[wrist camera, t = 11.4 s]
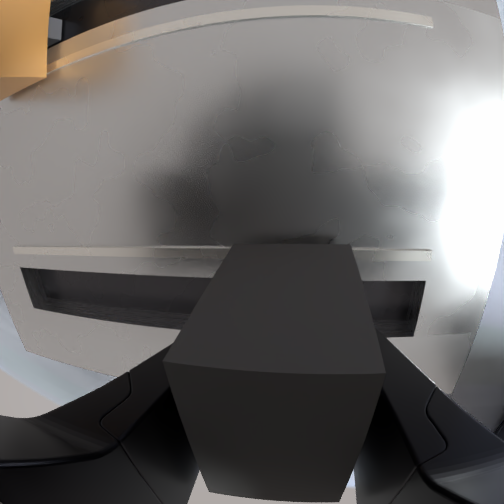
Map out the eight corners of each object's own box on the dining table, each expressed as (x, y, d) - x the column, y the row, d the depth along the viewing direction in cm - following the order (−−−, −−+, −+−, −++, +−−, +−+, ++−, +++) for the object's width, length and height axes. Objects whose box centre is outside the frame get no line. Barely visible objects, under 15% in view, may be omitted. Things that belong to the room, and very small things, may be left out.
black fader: (345, 229, 9) (385, 372, 4) (335, 349, 11) (339, 502, 5) (242, 228, 9) (162, 360, 4) (251, 346, 11) (209, 492, 6)
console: (443, -72, 5) (461, -96, 3) (438, 361, 11) (452, 395, 10) (2, 11, 8) (-27, 7, 6) (46, 331, 15) (25, 351, 13)
